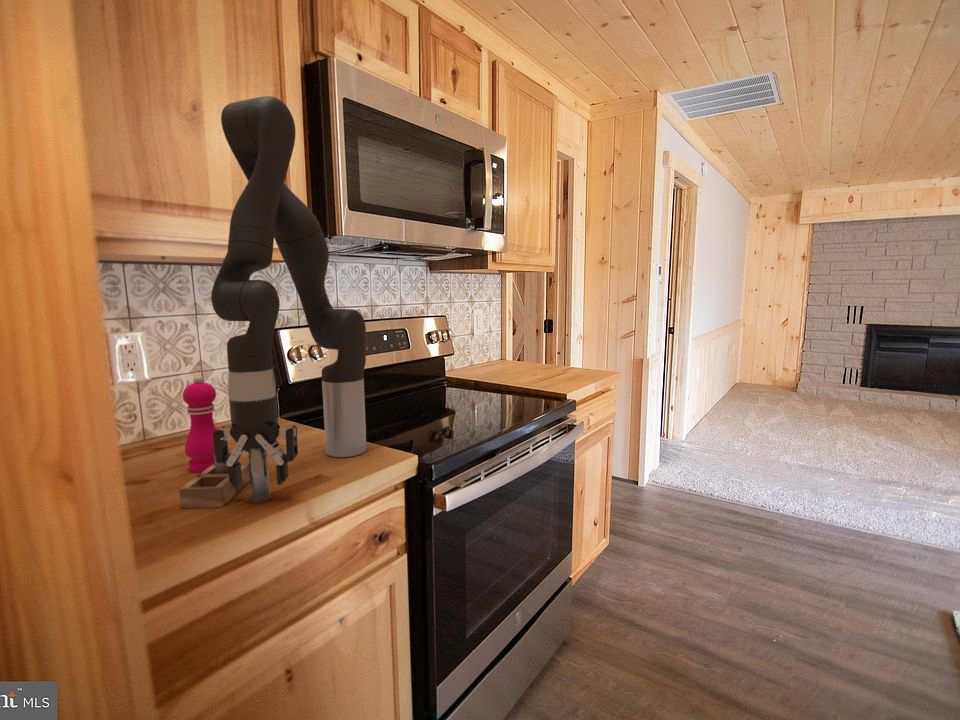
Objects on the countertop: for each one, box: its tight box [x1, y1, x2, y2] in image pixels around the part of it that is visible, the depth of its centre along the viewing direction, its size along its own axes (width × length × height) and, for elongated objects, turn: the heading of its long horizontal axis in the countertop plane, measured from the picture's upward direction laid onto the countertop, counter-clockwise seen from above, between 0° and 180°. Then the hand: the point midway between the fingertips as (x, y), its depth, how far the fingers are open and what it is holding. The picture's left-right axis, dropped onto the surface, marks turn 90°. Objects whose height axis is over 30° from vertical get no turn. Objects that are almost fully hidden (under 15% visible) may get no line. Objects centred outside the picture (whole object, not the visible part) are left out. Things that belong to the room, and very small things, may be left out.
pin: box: [247, 448, 271, 503], centre depth 87 cm, size 3×3×10 cm
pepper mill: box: [182, 374, 218, 473], centre depth 102 cm, size 7×7×20 cm
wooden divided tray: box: [178, 451, 251, 509], centre depth 89 cm, size 12×7×6 cm, turn 3°
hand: (259, 483), depth 87 cm, fingers open, 7 cm apart
